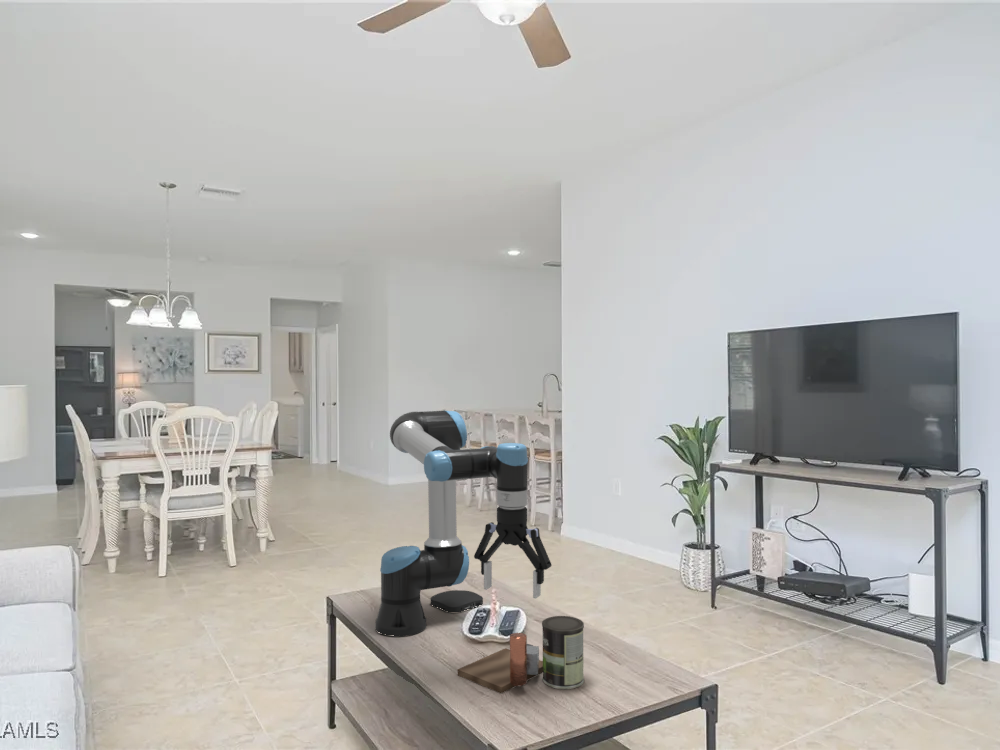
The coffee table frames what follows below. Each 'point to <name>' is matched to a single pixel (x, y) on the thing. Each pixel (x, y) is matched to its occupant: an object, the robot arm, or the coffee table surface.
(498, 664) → the board
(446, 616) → the coffee table surface
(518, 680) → the lever
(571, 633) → the coffee can
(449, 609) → the media streaming box
